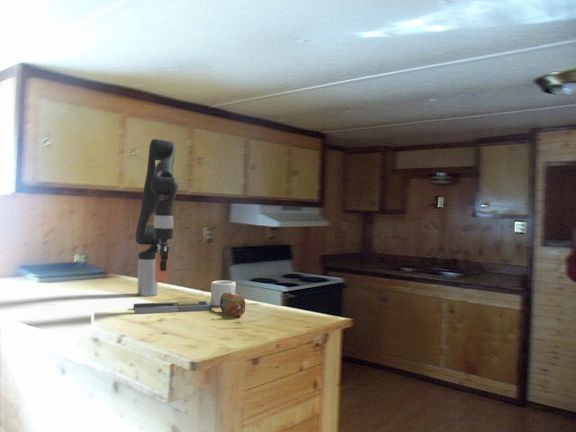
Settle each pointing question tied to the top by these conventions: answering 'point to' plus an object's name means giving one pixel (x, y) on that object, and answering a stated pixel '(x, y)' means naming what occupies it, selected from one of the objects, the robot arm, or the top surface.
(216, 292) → the mug
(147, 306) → the slot bed
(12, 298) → the top surface
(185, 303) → the tan cubic piece
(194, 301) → the khaki cube
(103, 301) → the top surface
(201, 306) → the tray
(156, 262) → the pink rectangular block
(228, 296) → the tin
